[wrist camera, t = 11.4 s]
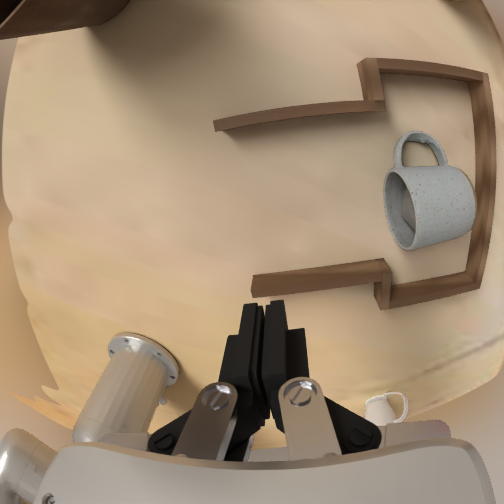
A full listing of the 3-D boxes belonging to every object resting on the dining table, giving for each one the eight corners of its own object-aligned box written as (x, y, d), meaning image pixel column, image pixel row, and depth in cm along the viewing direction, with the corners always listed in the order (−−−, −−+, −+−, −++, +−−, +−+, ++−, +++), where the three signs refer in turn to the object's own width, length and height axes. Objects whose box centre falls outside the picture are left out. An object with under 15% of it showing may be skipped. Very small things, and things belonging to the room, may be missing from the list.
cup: (349, 407, 43) (354, 444, 35) (387, 377, 38) (398, 416, 31) (375, 413, 43) (382, 446, 36) (412, 384, 39) (423, 420, 32)
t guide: (469, 276, 29) (479, 288, 26) (260, 309, 34) (259, 326, 31) (472, 75, 18) (487, 73, 15) (212, 83, 23) (204, 78, 20)
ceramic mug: (445, 220, 26) (481, 248, 19) (385, 232, 28) (413, 266, 21) (439, 128, 22) (482, 134, 15) (373, 134, 24) (405, 138, 17)
